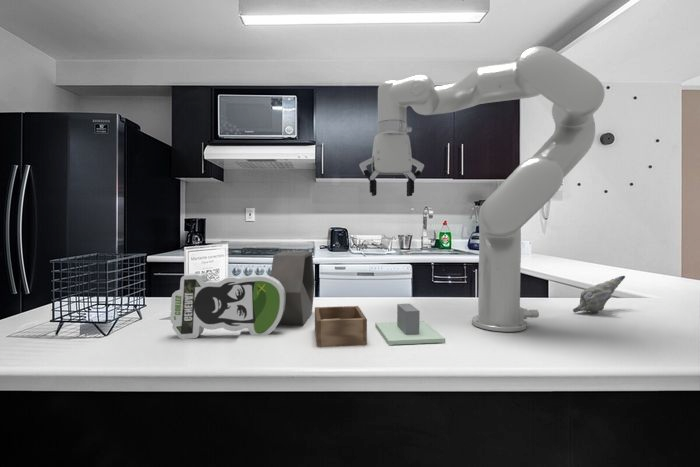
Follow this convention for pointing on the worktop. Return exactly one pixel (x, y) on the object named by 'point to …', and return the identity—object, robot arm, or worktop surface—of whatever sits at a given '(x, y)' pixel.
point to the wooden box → (340, 326)
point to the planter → (295, 285)
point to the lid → (408, 328)
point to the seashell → (597, 296)
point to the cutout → (227, 304)
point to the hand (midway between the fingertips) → (391, 195)
